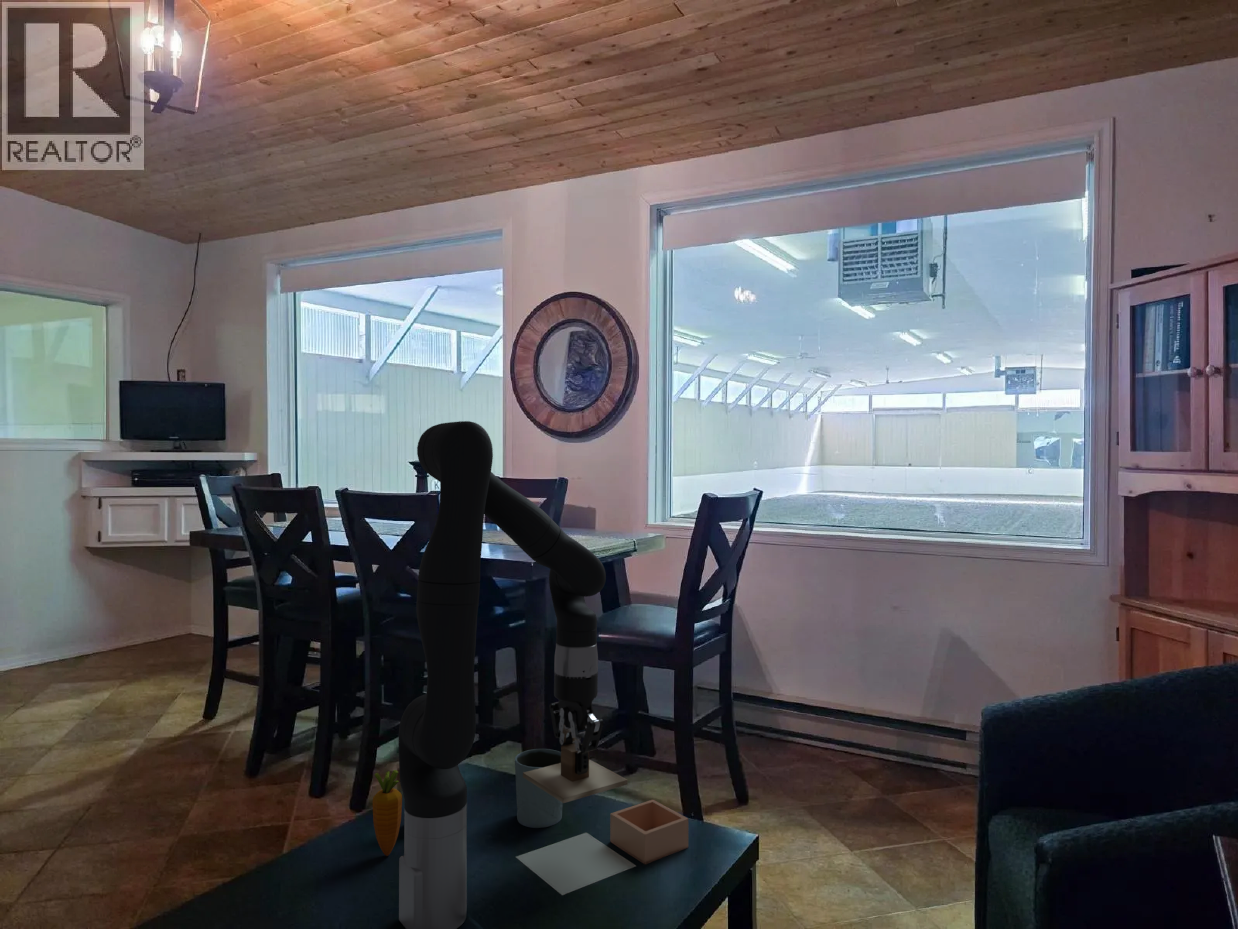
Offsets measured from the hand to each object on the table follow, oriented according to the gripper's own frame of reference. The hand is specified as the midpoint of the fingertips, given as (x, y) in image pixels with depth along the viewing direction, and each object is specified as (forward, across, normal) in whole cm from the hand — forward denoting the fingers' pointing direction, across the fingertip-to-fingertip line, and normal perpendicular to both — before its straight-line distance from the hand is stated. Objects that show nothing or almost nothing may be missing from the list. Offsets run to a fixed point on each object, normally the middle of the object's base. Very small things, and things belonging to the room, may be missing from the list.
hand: (574, 769), depth 132 cm
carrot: (+17, -22, -25) cm, 37 cm away
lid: (+2, 0, 0) cm, 2 cm away
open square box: (+16, +3, +14) cm, 22 cm away
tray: (+16, 0, 0) cm, 16 cm away
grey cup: (+16, -18, +4) cm, 25 cm away
